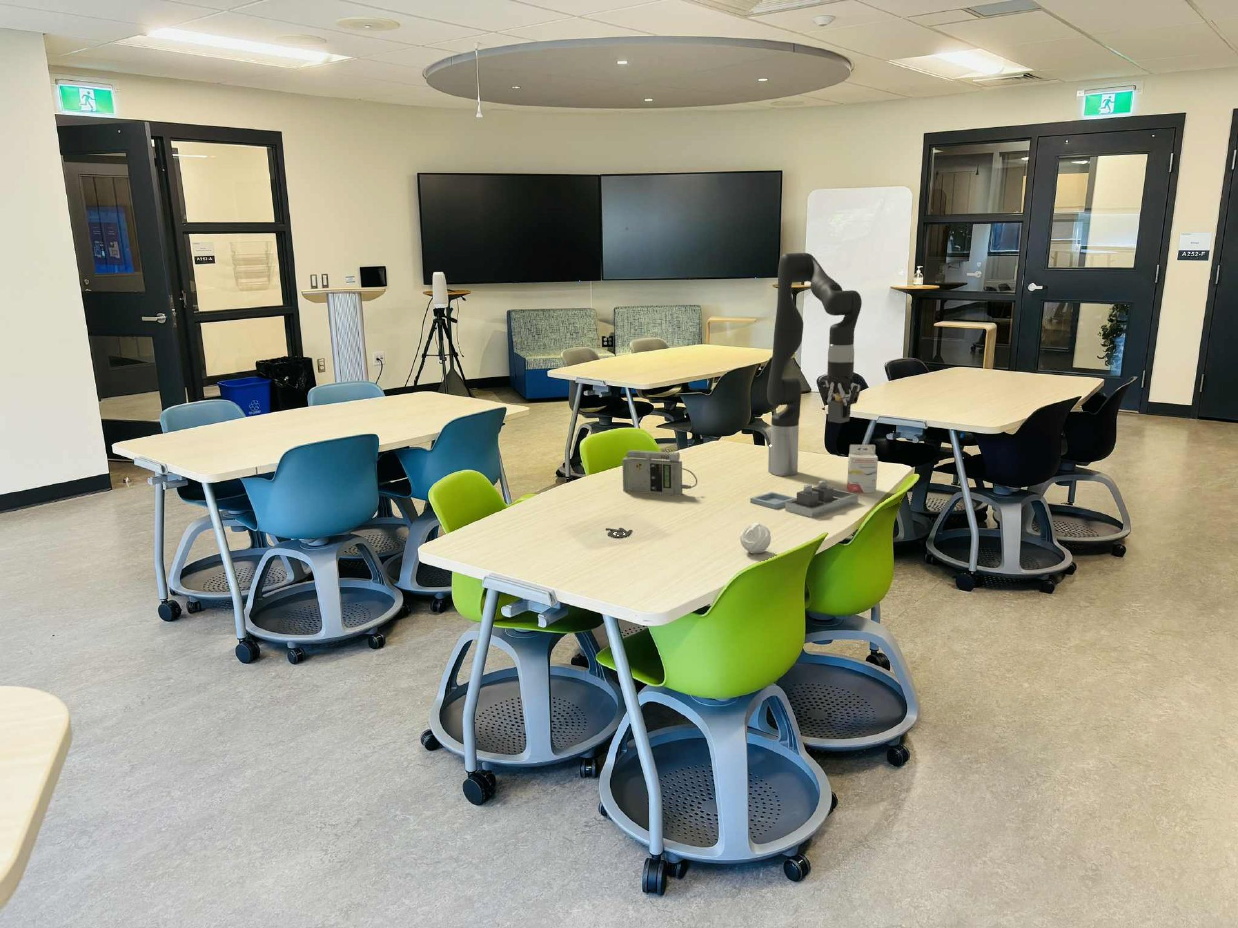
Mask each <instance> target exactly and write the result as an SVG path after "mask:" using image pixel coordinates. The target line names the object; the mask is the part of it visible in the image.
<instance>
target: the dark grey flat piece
mask: <svg viewBox="0 0 1238 928" xmlns="http://www.w3.org/2000/svg"><path fill="white" fill-rule="evenodd" d="M605 529H606V530H605V531H607V530H610V531H608V532H607V536H608V537H609V536H611V537H613V538H612V539H624V538H623V537H625V538H628V537H630V536H631V535H632V533H633V530H632V529H628V531H627V530H626V529H624V528H623V527H619V528H618V529H617V528H610V527H607V528H605ZM619 529H620V530H619ZM614 532H617V533H615V534H616V535H614V534H613V533H614ZM623 532H624V533H625V535H623V534H624V533H623ZM631 532H632V533H631ZM617 535H619V536H617ZM627 536H628V537H627ZM611 537H610V538H611Z"/></svg>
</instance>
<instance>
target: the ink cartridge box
mask: <svg viewBox="0 0 1238 928" xmlns="http://www.w3.org/2000/svg"><path fill="white" fill-rule="evenodd" d="M862 448H863V449H862ZM878 457H879V456H877V454H876V445H875V444H850V445H849V453H848V461H847V462H848V464H847V465H848V466H847V480H846V481H847V483H846V489H847V492H850V493H856V494H860V493H861V494H862V493H865V494H867V493H868V494H872V493H873V494H874V493H875V494H877V479H878V463H879V458H878Z"/></svg>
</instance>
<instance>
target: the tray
mask: <svg viewBox="0 0 1238 928" xmlns="http://www.w3.org/2000/svg"><path fill="white" fill-rule="evenodd" d="M749 499H750V502H749V503H750V504H754V505H758V506H762V507H765V508H769V509H772V510H778V509H781V508H785V502H788V501H791V500H794V499H797V497H793V496H789V495H785V494H783V493H782V494H781V493H778V492H773V491H770V492H767V493H764V494H760V495H757V496H753V497H750V498H749Z"/></svg>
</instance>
